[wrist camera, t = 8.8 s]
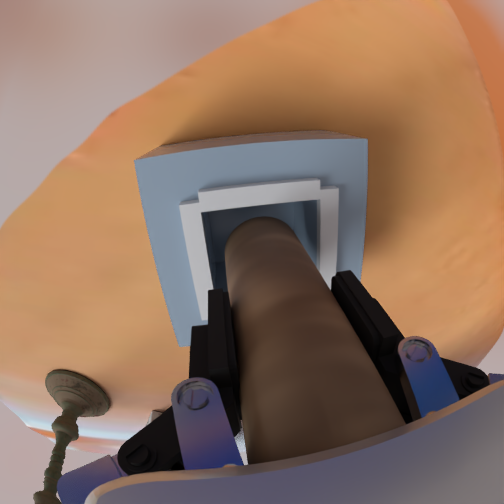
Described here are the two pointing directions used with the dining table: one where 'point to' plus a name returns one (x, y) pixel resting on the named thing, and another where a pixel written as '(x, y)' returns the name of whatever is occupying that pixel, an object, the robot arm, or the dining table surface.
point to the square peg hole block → (249, 207)
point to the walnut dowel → (296, 351)
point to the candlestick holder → (68, 421)
